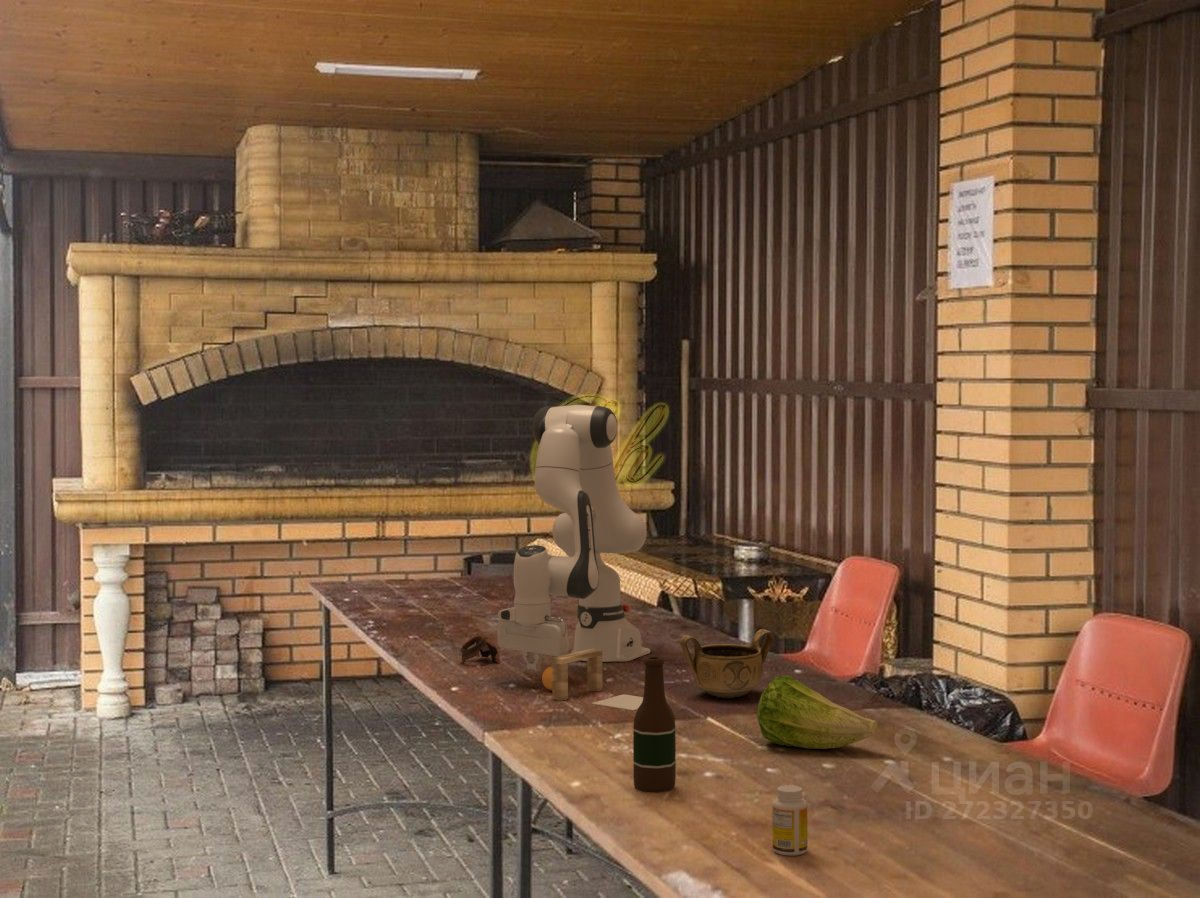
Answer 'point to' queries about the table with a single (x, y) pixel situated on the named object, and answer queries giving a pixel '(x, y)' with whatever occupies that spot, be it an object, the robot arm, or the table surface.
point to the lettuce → (807, 717)
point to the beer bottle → (654, 734)
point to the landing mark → (622, 702)
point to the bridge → (562, 672)
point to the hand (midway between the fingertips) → (533, 670)
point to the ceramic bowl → (728, 665)
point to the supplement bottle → (789, 821)
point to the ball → (547, 678)
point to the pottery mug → (479, 649)
